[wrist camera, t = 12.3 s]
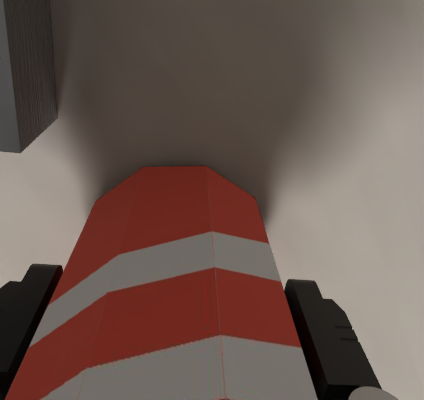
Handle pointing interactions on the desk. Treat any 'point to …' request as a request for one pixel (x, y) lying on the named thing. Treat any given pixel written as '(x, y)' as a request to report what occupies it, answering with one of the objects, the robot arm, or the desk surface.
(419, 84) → the desk surface
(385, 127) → the desk surface
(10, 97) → the socket plate
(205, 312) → the beverage can
